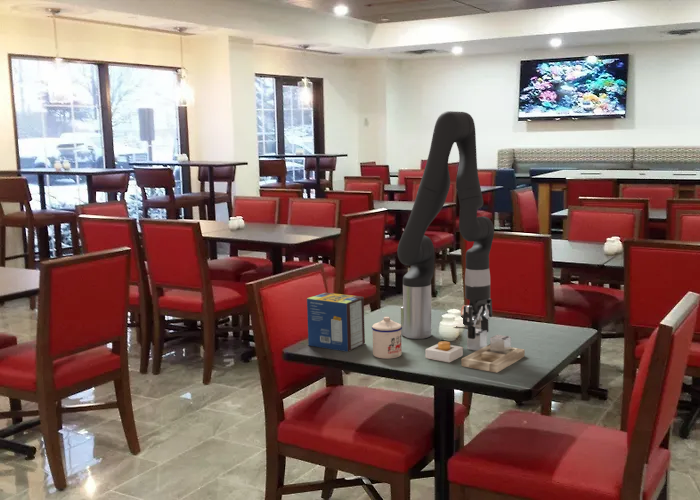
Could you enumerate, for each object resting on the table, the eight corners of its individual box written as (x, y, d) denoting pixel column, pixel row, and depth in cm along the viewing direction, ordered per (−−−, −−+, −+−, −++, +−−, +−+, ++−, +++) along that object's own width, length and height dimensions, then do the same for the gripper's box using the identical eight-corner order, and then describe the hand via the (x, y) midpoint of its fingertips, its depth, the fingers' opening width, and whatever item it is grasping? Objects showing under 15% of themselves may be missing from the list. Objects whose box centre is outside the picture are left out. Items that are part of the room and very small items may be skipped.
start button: (435, 350, 212) (435, 343, 212) (441, 347, 215) (441, 340, 215) (446, 351, 210) (446, 345, 210) (452, 348, 213) (452, 342, 212)
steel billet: (467, 350, 220) (467, 330, 219) (474, 347, 224) (474, 327, 223) (480, 352, 217) (480, 332, 216) (486, 349, 221) (486, 329, 220)
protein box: (325, 337, 238) (324, 292, 236) (365, 343, 230) (364, 296, 228) (307, 345, 230) (305, 298, 227) (347, 352, 221) (346, 302, 219)
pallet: (461, 367, 204) (461, 358, 203) (490, 351, 218) (490, 343, 217) (497, 373, 197) (497, 365, 197) (524, 357, 211) (524, 349, 211)
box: (425, 359, 212) (425, 349, 212) (439, 352, 218) (439, 343, 218) (449, 363, 207) (449, 353, 207) (462, 356, 213) (462, 347, 213)
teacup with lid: (391, 361, 211) (391, 322, 209) (366, 356, 216) (365, 318, 215) (413, 351, 221) (412, 314, 219) (388, 346, 226) (387, 310, 224)
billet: (490, 357, 210) (490, 337, 210) (497, 354, 214) (497, 333, 213) (504, 360, 208) (504, 339, 207) (510, 356, 211) (510, 336, 210)
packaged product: (456, 303, 264) (484, 304, 262) (456, 316, 265) (484, 317, 263) (452, 314, 247) (481, 316, 245) (452, 328, 248) (481, 329, 246)
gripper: (477, 278, 225) (478, 329, 227) (455, 286, 214) (456, 339, 216) (499, 280, 221) (500, 331, 223) (477, 288, 210) (478, 342, 212)
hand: (478, 335), depth 220 cm, fingers open, 8 cm apart
